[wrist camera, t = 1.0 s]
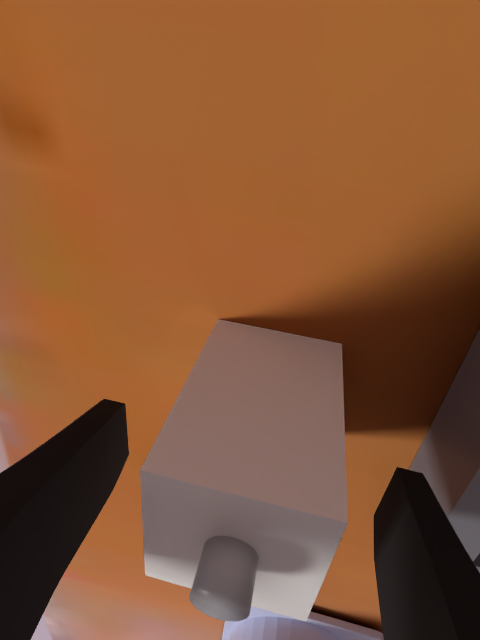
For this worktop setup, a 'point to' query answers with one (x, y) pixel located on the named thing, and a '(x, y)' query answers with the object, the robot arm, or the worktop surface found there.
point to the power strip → (457, 453)
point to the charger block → (250, 474)
